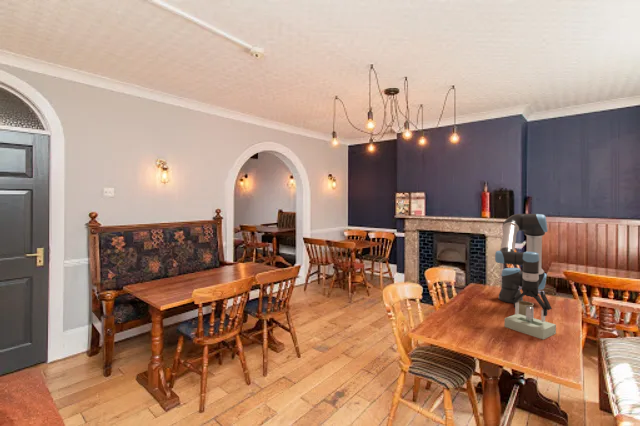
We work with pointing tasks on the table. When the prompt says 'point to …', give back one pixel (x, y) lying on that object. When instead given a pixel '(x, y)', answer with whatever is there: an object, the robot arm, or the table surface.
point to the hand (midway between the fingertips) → (529, 317)
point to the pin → (529, 314)
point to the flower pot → (524, 307)
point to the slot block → (530, 326)
